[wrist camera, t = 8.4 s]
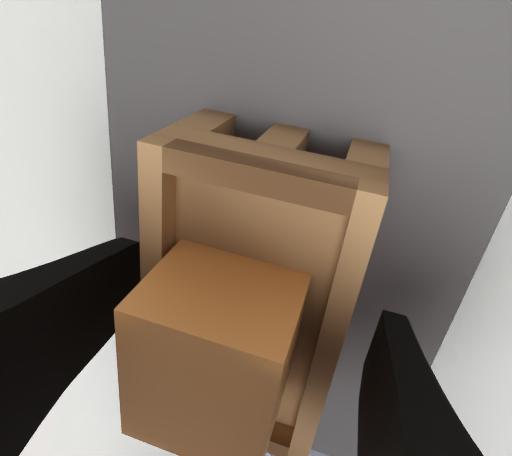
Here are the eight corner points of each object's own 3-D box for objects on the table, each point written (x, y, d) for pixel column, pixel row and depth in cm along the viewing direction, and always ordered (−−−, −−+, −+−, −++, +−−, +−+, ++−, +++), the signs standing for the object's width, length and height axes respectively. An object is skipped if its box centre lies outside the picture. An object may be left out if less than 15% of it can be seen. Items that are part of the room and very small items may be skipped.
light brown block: (286, 384, 12) (256, 485, 9) (177, 348, 13) (121, 433, 10) (312, 275, 10) (284, 364, 7) (180, 239, 11) (113, 309, 8)
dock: (381, 414, 19) (380, 474, 17) (156, 340, 22) (125, 382, 19) (566, -25, 11) (621, -39, 8) (154, -69, 13) (95, -90, 10)
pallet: (323, 374, 15) (305, 467, 12) (192, 332, 16) (144, 407, 13) (389, 144, 11) (388, 197, 8) (204, 108, 12) (137, 140, 9)
